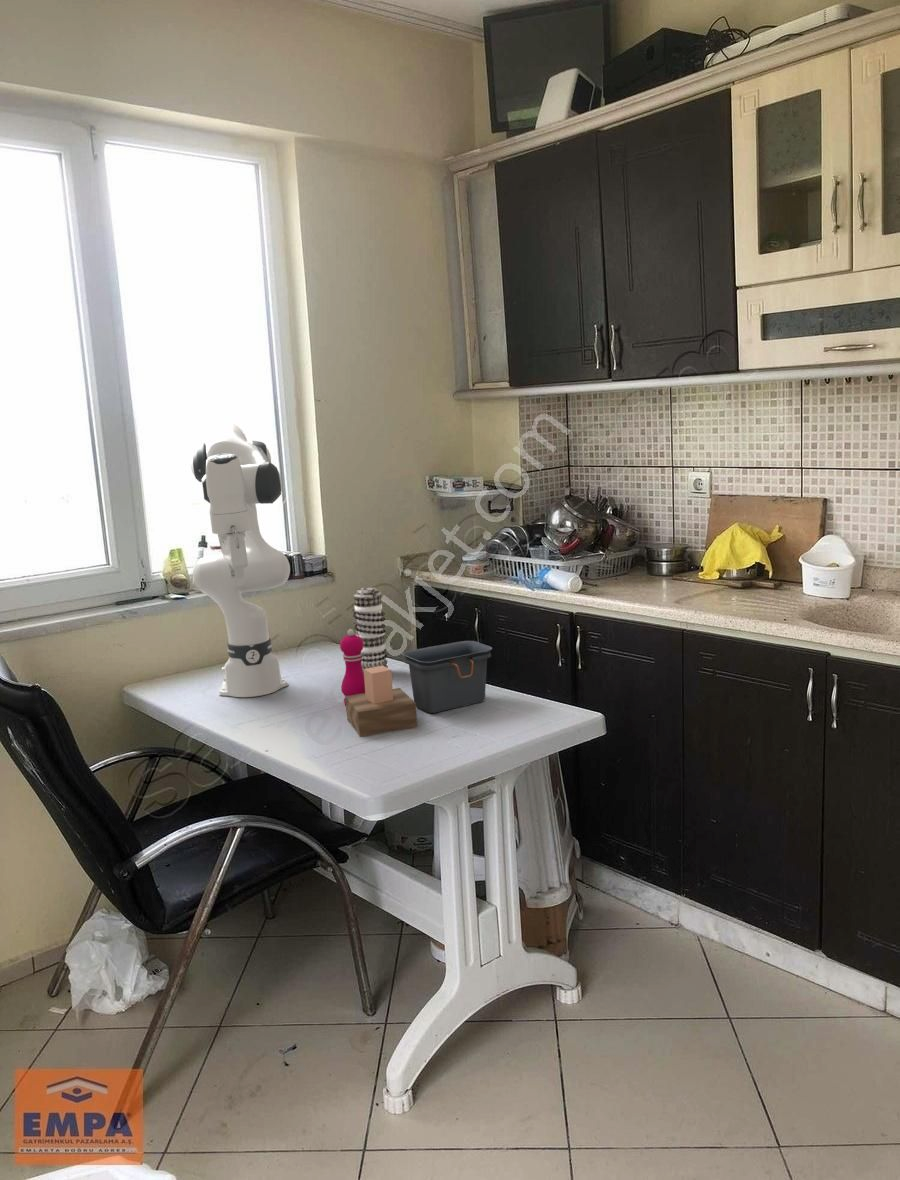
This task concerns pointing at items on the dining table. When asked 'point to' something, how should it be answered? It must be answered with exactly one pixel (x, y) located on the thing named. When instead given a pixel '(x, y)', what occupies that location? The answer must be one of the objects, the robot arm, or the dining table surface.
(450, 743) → the dining table surface
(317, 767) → the dining table surface
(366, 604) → the decorative candle
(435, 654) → the storage bin
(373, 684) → the terracotta block
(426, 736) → the dining table surface
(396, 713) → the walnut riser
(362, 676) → the pepper mill
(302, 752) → the dining table surface
